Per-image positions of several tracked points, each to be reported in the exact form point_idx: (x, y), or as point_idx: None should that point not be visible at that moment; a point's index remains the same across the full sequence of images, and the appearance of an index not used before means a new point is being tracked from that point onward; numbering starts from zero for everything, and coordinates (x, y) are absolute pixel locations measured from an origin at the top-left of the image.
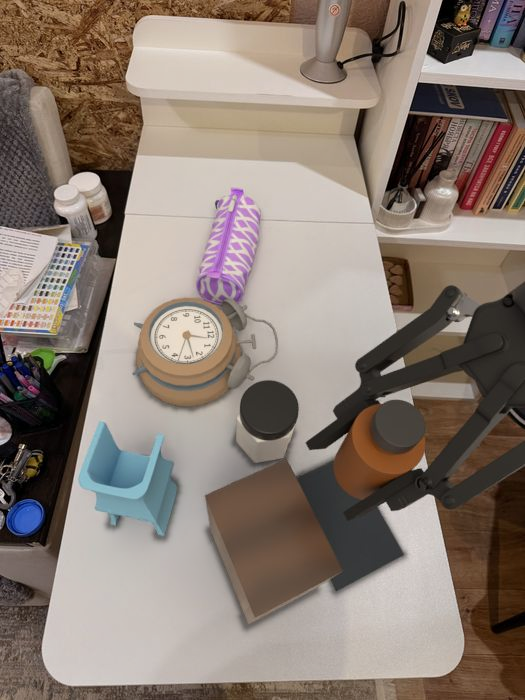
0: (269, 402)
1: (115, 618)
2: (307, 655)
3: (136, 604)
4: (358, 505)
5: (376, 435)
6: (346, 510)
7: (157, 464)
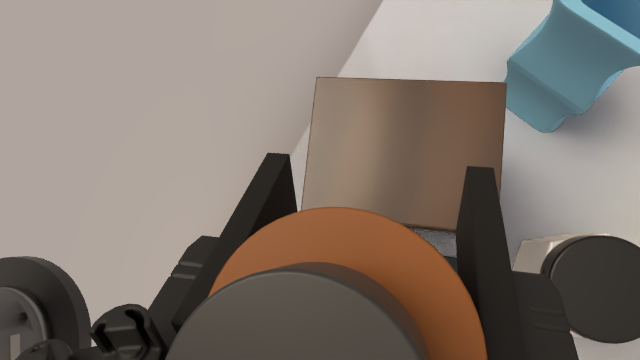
0: (614, 292)
1: (431, 18)
2: (295, 179)
3: (433, 41)
4: (269, 182)
5: (316, 267)
6: (284, 160)
7: (595, 62)
